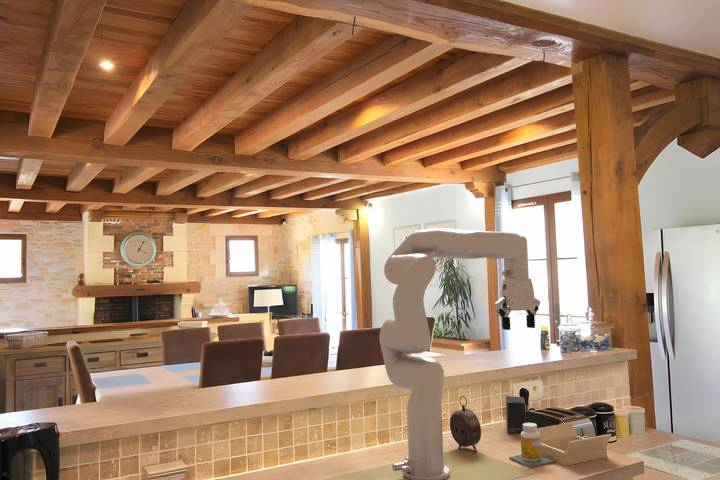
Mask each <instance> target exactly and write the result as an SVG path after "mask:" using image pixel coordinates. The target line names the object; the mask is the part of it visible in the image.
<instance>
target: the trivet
mask: <svg viewBox="0 0 720 480" xmlns="http://www.w3.org/2000/svg"><path fill="white" fill-rule="evenodd" d="M508 460H511V461H512V462H515V463H516V464H517V463H518V464H520V465H522V466H525V467H526V468H529V469H531V468H536V467H541V466H546V465H551V464H555V463H556V462H555V460H552V459H550V458H547V457H544V456H542V455H541V459H540V460H539V461H526V460H523V459H522V455H521V454H518V455H513V456H512V455H511V456H509V458H508Z"/></svg>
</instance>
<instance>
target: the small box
mask: <svg viewBox="0 0 720 480" xmlns="http://www.w3.org/2000/svg"><path fill="white" fill-rule="evenodd" d="M505 408H506V409H505V413H506V414H505V417H506V418H505V419H506V432H507V434H520V435H521V432H522V431H524V430H523V424H524V423H527V410H526V408H527V407H526V401H525V399H524V397H523V396H513V395H512V396H510V395H508V396H505Z"/></svg>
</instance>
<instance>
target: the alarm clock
mask: <svg viewBox="0 0 720 480" xmlns="http://www.w3.org/2000/svg"><path fill="white" fill-rule="evenodd" d="M462 398H464V400H465V404H462V402H461V401H462V400H461V399H462ZM459 403H460V406H461V407H462V409H459V410H456V411H453V412H452V414H451V415H450V419H449V430H450V433H451V436H452V438H453V440H454V442H456V444H457V445H458V449H457V450H458V451H459V450H461V447H462V448H463V447H464V448H467V447H471V446H472V448H473V450H474V452H475V453H478V450H477V448H476V445H477V444H478V443H479V442H480V440H481V438H482V437H481V436H482V427H481V424H480V420H479V418H478V416H477V414H475V412H474V411H473V410H471V409H469V408H466V406H467V404H468V400H467V398H466V397H465V395H462V396H460V397H459Z"/></svg>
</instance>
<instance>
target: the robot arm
mask: <svg viewBox="0 0 720 480" xmlns="http://www.w3.org/2000/svg"><path fill="white" fill-rule="evenodd" d="M528 255H529V254H528V240H527V237H526V236H525V235H520V234H518V233H516V232H507V231H486V230H485V231H483V230H482V231H481V230H467V229H466V230H465V229H453V228H445V227H442V228H441V227H433V228H426V229H418V230H415V231H414V232H413V231H412V232H411V234H409V236H407V237H406V238H405V239H404V240H403V241H402V242H401V243H400V244H399V246H398V247H396V249H395V250H394V251H393V252H392V253H391V254H390V256H388V258H387V259H386V261H385V264H384V267H383V273H384V276H385V278H386V280H387V281H388V282H389V283H392V284H394V285H397V286H396V288H395V290H394V293H393V296H392V309H393V315H394V317H391V318H389V319H387V320H386V321H384V323H383V324H381V325H382V326H381V328H380V330H379V345H380V350H381V354H382V357H383V362H384V366H385V367H384V368H385V371H386V375H387V378H388V379H389V381H390V382H391V384H392V385H394V386H395V387H398V388H401V389H405V390H410V391H411V393H410V396H409V398H408V401H407V404H406V405H407V406H406V424H407V451H408V456H405V457H404V460H403V461H402V462H396V463H393V464H392V465H391V466H392V470H393V471H394V472H397V471H401V472H402V473H403V476H404V477H405V478H407V479H409V480H445V479H447V478H449V476H450V474H451V472H450V468H449V467H448V466H447V465H445V464H444V463H445V462H444V437H443V436H444V435H443V416H442V415H443V412H442V411H443V410H442V407H443V406H442V398H443V397H442V396H443V388H444V383H445V382H444V381H445V372H444V368H443V367H442V364H441V363H440V362H439V361H438V360H436V359H434V358H432V357H428V356H423V355H417V354H423V353H425V352H427V351H428V350H429V348H430V346H431V343H432V340H431V338H432V337H431V332H430V327H429V324H428V322H429V321H428V318H427V313H426V309H425V305H424V304H425V303H424V302H425V301H424V300H425V299H424V298H425V293H426V290H427V288H428V286H429V285H430V283H431V281H433V279H434V276H435V274H436V270H437V269H436V266H437V265H436V262H435V260H434V259H435V258H437V259H439V258H442V259H459V260H460V259H461V260H469V259H471V260H473V259H475V260H476V259H485V258H487V259H489V260H503V271H502V272H501V275H502V276H503V277H504V278H503V279H502V284H501V294H500V295H501V298H499V300H497V301H496V302H494V308H495V309H496V312H497V313H498V314H499V316H500V318H501V327H502V328H501V329H502V330H504V331H505V330H506V331H510V330H511V317H510V316H509V315H510V314H511V312H515V311H516V312H517V311H525V313H526V316H525V317H526V318H525V319H526V320H525V321H526V327H527V328H530V329H535V328H536V321H535V319H536V318H535V317H536V315H537V312H538V311H539V307H540V305H541V300H539V299H537V298H536V297H535V292H534V285H533V281H532V279H531V278H530V277H529V276H530V275H529V256H528ZM414 354H415V355H414Z"/></svg>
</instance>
